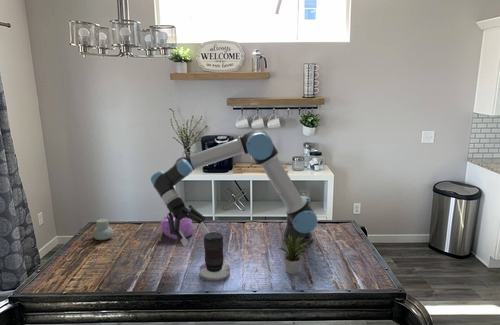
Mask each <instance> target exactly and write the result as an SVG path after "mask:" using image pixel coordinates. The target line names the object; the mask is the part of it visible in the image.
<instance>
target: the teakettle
mask: <svg viewBox="0 0 500 325" xmlns="http://www.w3.org/2000/svg"><path fill="white" fill-rule="evenodd" d="M168 213H169V212H166V214H165V215H164V217H163V220H160V227H159V228H160V231H161V232H162V233H163V234H164V235H165V236H166V237H168V238H170V239H172V240H174V241H179V239H178V238H177V236H176V235H173V234H172V235H171V234H170V229H169V222H168V218H167V214H168ZM173 220H174V227H175V217H174V216H173ZM193 222H194V221H193V220H191V219H189V218H184V219H182V220H180V225H179V231H181V232H182V233H183V235H184V237H185V238H188V237H191V236H193V234H194V227H193Z"/></svg>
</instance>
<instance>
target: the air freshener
mask: <svg viewBox="0 0 500 325" xmlns="http://www.w3.org/2000/svg"><path fill="white" fill-rule="evenodd" d="M95 222H96V228H94V229H93V230H92V235H93V237H94V239H95V240H98V241H106V240H108V239H111V238H112V237H113V236H114V235H115V234H114V230H113V228H112V227H111V226H109V219H107V218H100V219H97V220H96V221H95Z"/></svg>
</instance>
